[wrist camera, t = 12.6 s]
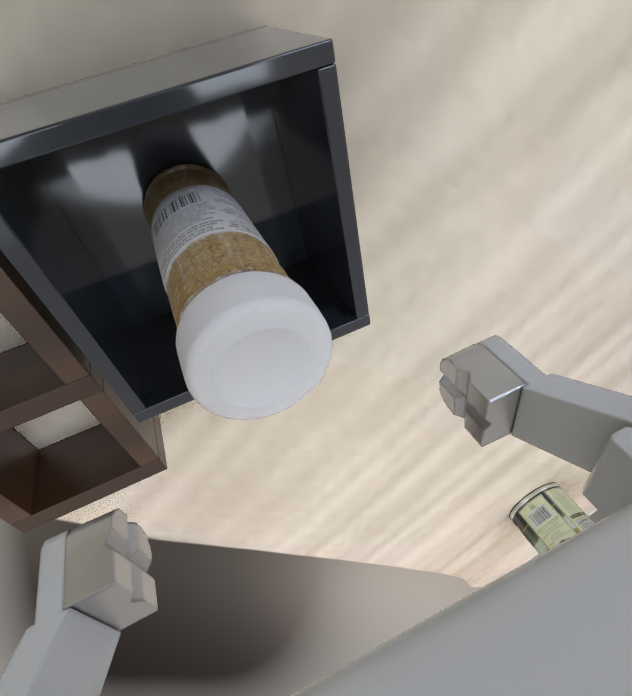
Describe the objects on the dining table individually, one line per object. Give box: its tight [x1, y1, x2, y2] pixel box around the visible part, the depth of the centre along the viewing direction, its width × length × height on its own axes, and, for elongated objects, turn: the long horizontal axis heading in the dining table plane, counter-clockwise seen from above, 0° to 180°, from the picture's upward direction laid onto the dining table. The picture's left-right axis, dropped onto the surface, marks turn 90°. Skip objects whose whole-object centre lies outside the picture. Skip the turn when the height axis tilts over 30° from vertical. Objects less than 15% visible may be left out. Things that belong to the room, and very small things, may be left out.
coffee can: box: [510, 483, 595, 555], centre depth 70 cm, size 10×10×14 cm
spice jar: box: [144, 164, 332, 420], centre depth 17 cm, size 5×5×14 cm
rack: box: [0, 250, 167, 533], centre depth 22 cm, size 17×9×5 cm, turn 11°
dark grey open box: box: [0, 26, 370, 423], centre depth 20 cm, size 12×12×8 cm
